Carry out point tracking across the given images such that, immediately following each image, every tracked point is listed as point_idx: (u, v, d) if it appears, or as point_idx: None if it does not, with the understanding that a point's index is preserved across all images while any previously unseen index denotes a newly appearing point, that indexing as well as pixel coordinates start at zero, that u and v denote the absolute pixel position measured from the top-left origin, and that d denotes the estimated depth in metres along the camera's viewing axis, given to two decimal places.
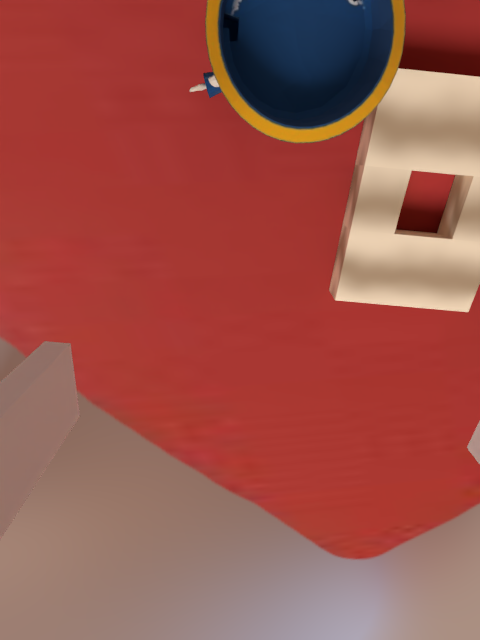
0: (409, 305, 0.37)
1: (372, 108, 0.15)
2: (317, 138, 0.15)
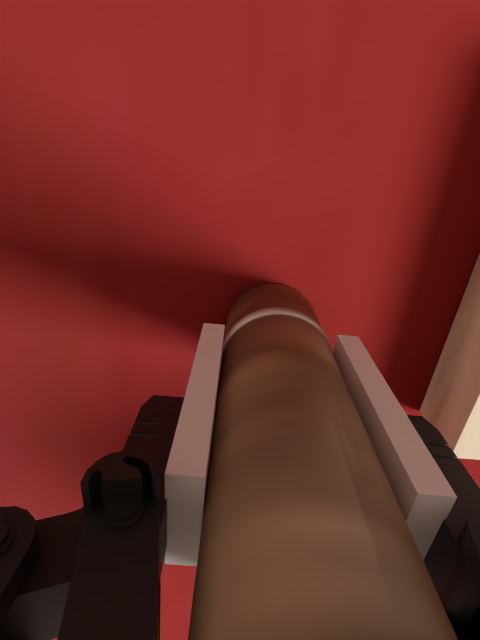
0: None
1: None
2: None
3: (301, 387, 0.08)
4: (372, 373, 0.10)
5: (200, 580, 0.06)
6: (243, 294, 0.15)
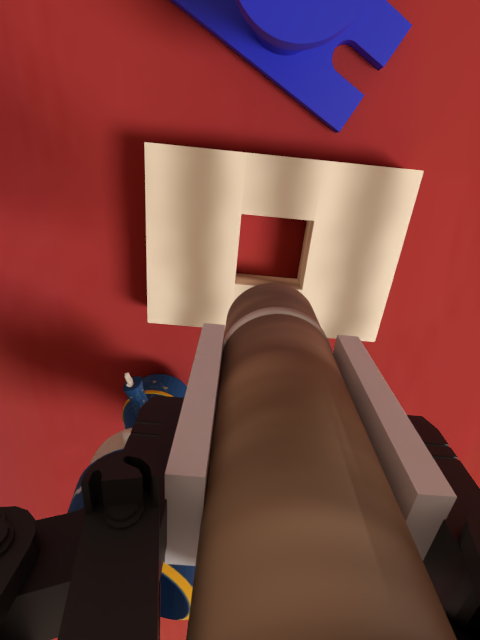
0: (397, 255, 0.28)
1: (171, 568, 0.18)
2: None
3: (300, 386, 0.08)
4: (372, 373, 0.10)
5: (198, 581, 0.06)
6: (243, 294, 0.15)
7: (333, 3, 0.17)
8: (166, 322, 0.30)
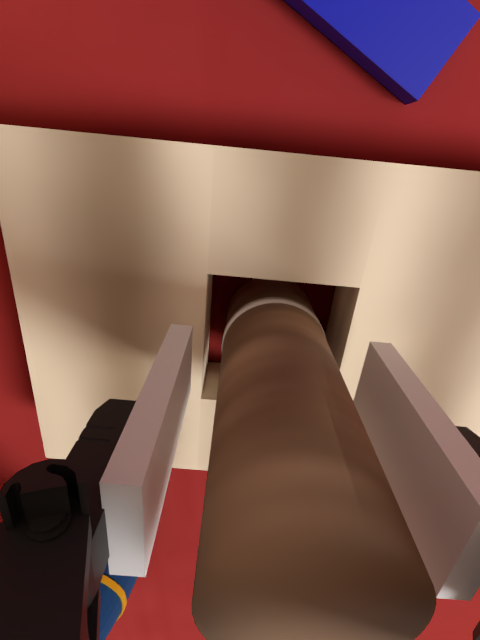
0: None
1: None
2: None
3: (295, 364, 0.09)
4: (413, 382, 0.10)
5: (206, 521, 0.06)
6: (243, 286, 0.16)
7: None
8: None
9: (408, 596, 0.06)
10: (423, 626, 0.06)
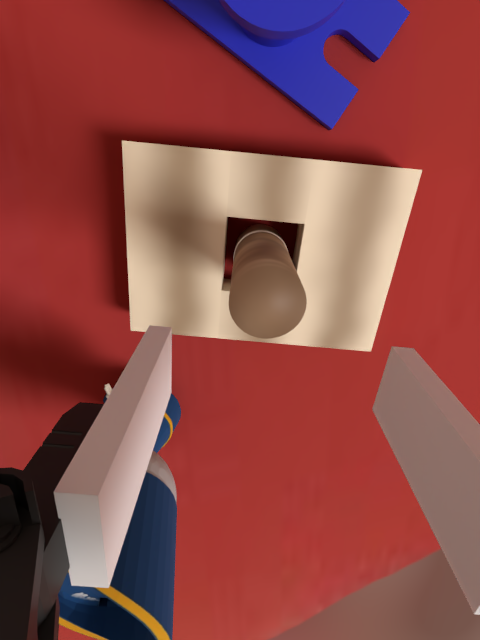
0: (394, 260, 0.26)
1: (138, 606, 0.16)
2: (166, 637, 0.17)
3: (267, 245, 0.21)
4: (440, 389, 0.10)
5: (232, 282, 0.19)
6: (244, 229, 0.28)
7: None
8: None
9: (297, 294, 0.18)
10: (304, 311, 0.18)
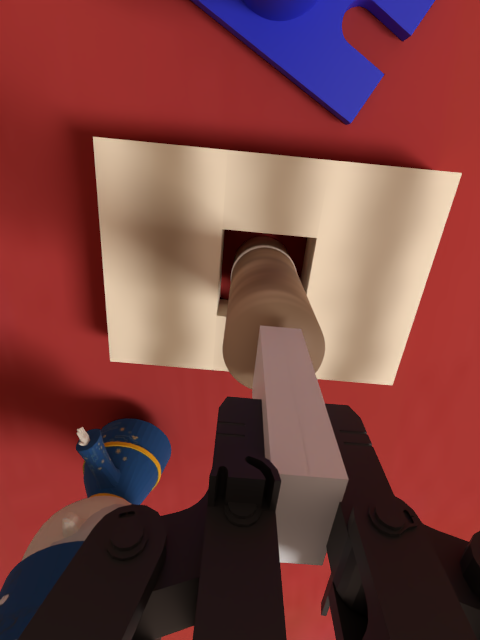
0: (423, 281, 0.22)
1: None
2: None
3: (272, 268, 0.17)
4: (303, 363, 0.10)
5: (227, 320, 0.14)
6: (244, 243, 0.24)
7: None
8: (133, 361, 0.25)
9: (312, 339, 0.13)
10: (322, 359, 0.14)
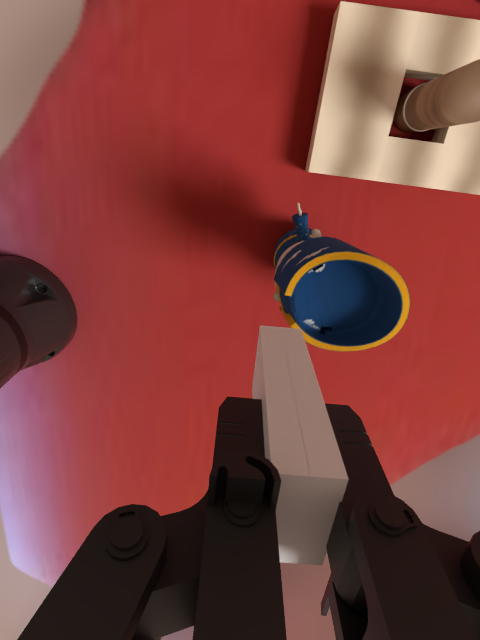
0: None
1: (398, 274, 0.24)
2: (408, 306, 0.25)
3: None
4: (303, 363, 0.10)
5: (448, 80, 0.27)
6: (405, 92, 0.36)
7: None
8: (324, 172, 0.37)
9: None
10: None
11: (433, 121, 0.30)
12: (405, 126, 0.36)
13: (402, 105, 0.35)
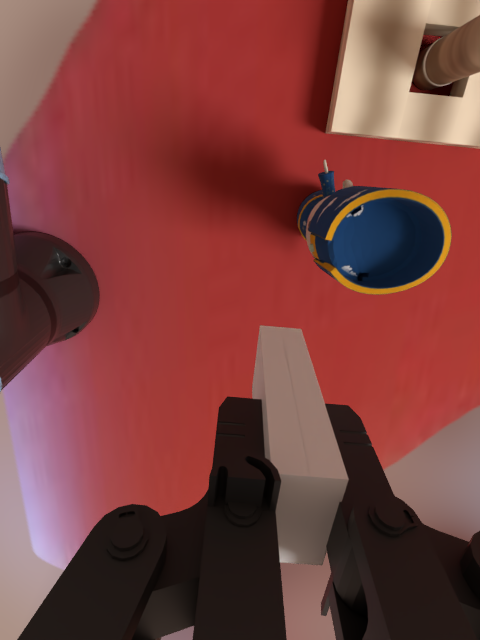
0: None
1: (440, 208, 0.25)
2: (449, 240, 0.26)
3: None
4: (303, 363, 0.10)
5: (476, 23, 0.27)
6: None
7: None
8: (346, 131, 0.38)
9: None
10: None
11: (458, 69, 0.31)
12: (424, 82, 0.36)
13: (422, 60, 0.35)
